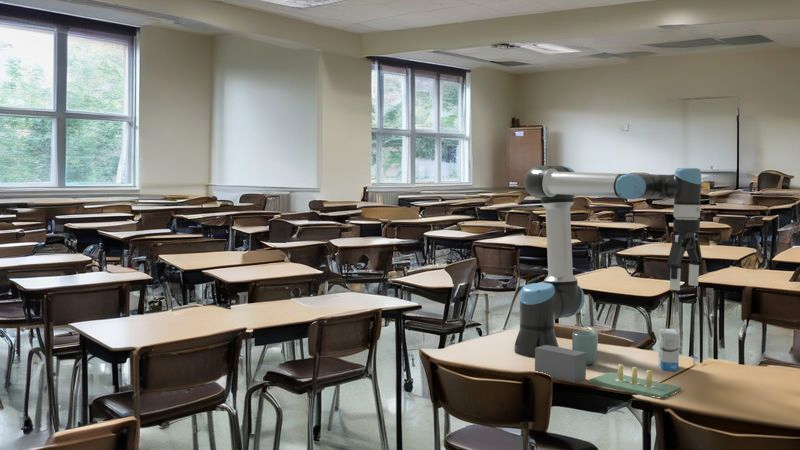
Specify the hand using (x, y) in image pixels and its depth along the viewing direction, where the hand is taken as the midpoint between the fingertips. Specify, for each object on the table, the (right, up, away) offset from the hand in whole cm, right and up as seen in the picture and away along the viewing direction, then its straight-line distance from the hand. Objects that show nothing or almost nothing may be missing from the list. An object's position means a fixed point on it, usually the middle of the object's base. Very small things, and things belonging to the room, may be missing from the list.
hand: (684, 287), depth 218 cm
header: (-20, -27, -14) cm, 37 cm away
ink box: (-2, -26, +7) cm, 27 cm away
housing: (-39, -26, -4) cm, 47 cm away
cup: (-28, -26, +12) cm, 40 cm away
